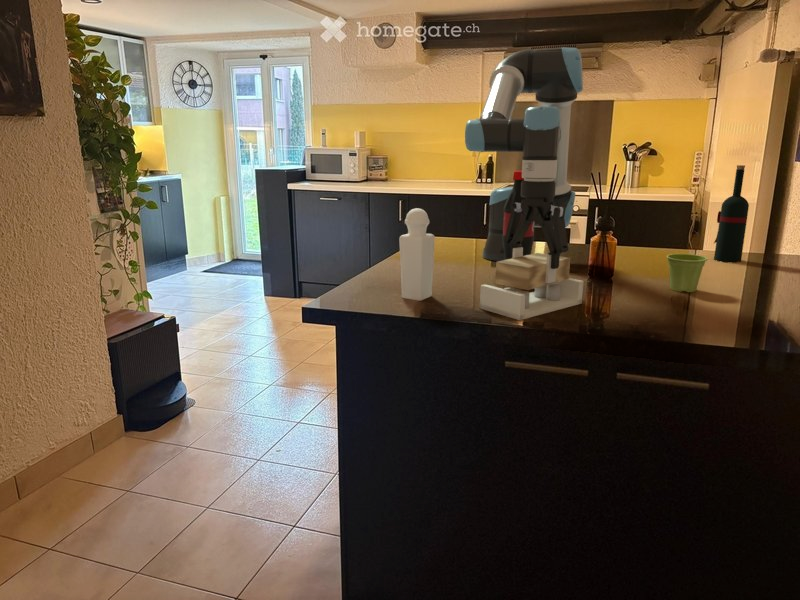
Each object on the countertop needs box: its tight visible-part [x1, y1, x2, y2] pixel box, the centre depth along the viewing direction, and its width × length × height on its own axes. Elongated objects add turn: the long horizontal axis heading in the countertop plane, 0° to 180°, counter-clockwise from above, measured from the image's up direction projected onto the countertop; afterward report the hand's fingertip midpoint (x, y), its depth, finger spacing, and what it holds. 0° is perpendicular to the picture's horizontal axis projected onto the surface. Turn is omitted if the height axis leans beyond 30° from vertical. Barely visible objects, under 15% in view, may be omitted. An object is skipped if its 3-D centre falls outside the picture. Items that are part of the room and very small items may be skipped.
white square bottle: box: [398, 207, 436, 302], centre depth 142 cm, size 6×6×22 cm
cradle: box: [479, 277, 584, 321], centre depth 136 cm, size 22×12×6 cm, turn 127°
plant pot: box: [666, 253, 708, 293], centre depth 150 cm, size 9×9×9 cm
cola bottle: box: [502, 170, 535, 260], centre depth 157 cm, size 8×8×30 cm
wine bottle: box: [713, 164, 750, 264], centre depth 186 cm, size 8×10×30 cm
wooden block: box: [495, 252, 571, 291], centre depth 135 cm, size 16×9×5 cm, turn 132°
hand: (532, 278), depth 135 cm, fingers closed on wooden block, 9 cm apart
